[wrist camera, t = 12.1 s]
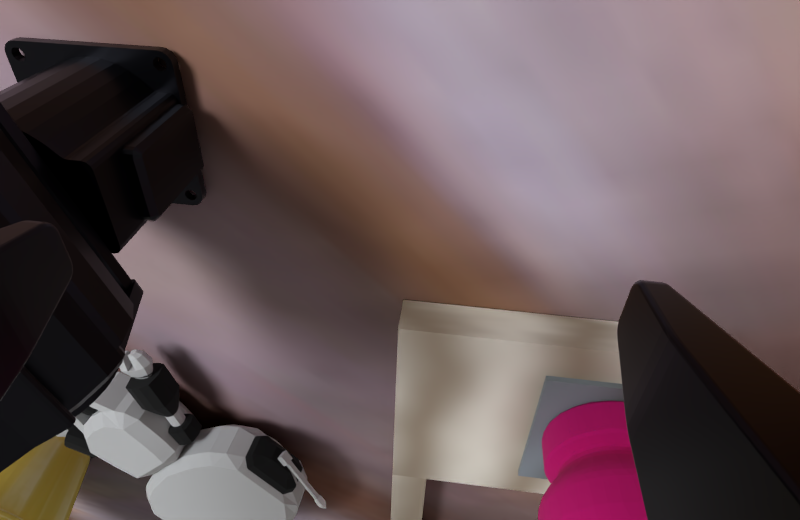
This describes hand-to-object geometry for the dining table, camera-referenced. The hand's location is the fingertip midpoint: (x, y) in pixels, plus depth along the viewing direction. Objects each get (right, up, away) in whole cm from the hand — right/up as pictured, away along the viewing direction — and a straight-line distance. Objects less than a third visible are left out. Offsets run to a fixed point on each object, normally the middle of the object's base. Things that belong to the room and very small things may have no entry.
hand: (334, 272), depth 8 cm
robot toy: (-12, -10, +27) cm, 31 cm away
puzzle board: (+8, -11, +24) cm, 27 cm away
